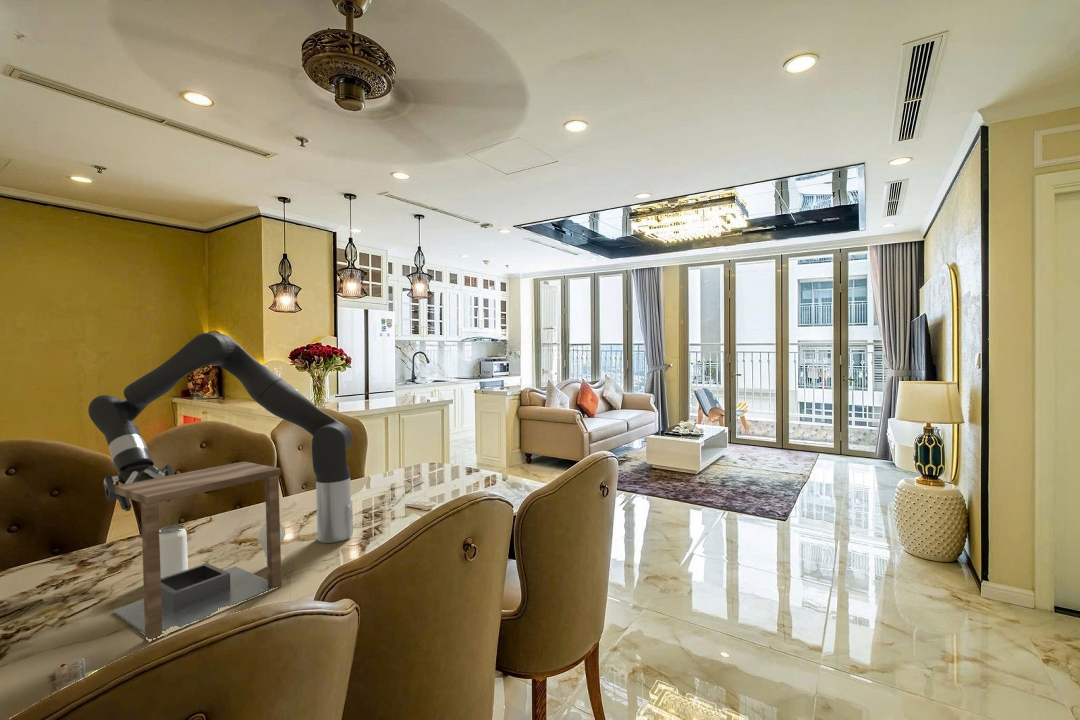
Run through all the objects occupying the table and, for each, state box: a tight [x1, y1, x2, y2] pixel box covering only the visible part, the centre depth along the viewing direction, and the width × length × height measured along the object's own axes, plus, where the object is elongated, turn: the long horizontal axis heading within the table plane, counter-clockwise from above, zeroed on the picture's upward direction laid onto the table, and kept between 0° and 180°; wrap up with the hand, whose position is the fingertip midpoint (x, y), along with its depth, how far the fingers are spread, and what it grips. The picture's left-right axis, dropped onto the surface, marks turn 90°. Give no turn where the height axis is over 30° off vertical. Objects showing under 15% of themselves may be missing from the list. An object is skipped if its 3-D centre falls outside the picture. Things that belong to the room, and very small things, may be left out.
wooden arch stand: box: [114, 461, 283, 643], centre depth 104 cm, size 16×25×28 cm, turn 148°
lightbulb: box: [257, 523, 286, 563], centre depth 122 cm, size 6×6×11 cm
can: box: [159, 524, 189, 578], centre depth 117 cm, size 6×6×12 cm
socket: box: [112, 562, 279, 640], centre depth 106 cm, size 20×24×4 cm
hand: (150, 504), depth 123 cm, fingers open, 8 cm apart
